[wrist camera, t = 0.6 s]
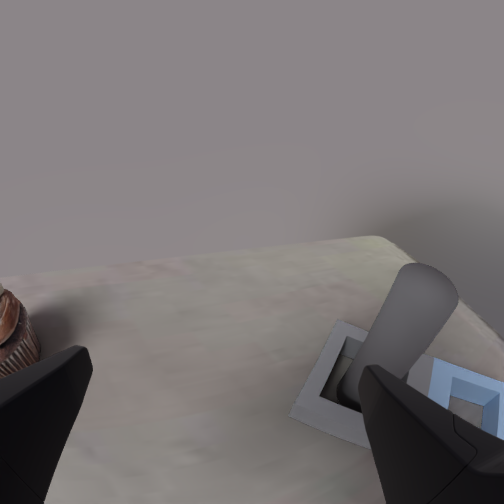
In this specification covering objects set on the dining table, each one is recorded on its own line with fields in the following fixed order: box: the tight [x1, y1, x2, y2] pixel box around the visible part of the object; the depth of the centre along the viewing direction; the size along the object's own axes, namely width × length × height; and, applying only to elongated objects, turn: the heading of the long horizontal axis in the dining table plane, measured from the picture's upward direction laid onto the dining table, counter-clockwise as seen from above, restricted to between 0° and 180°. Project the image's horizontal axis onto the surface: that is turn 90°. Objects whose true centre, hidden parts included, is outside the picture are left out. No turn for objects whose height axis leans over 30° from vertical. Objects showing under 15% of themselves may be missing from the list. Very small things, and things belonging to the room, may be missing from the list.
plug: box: [337, 263, 458, 413], centre depth 19 cm, size 4×4×14 cm
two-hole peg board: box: [288, 319, 504, 449], centre depth 20 cm, size 22×10×3 cm, turn 60°
